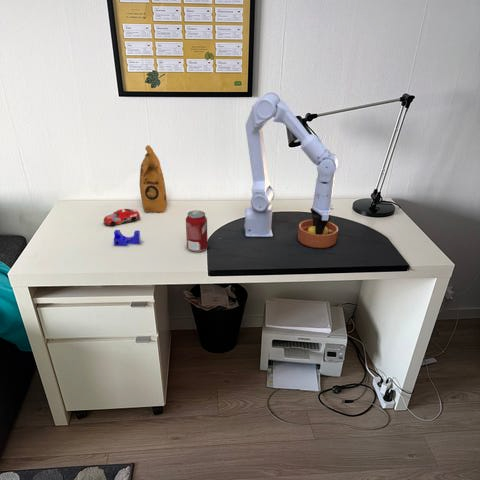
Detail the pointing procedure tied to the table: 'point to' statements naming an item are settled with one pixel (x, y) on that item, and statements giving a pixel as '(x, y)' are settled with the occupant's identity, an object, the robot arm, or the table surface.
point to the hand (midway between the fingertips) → (317, 232)
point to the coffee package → (152, 183)
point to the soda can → (196, 231)
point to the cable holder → (126, 238)
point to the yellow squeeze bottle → (312, 230)
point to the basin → (315, 239)
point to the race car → (122, 217)
